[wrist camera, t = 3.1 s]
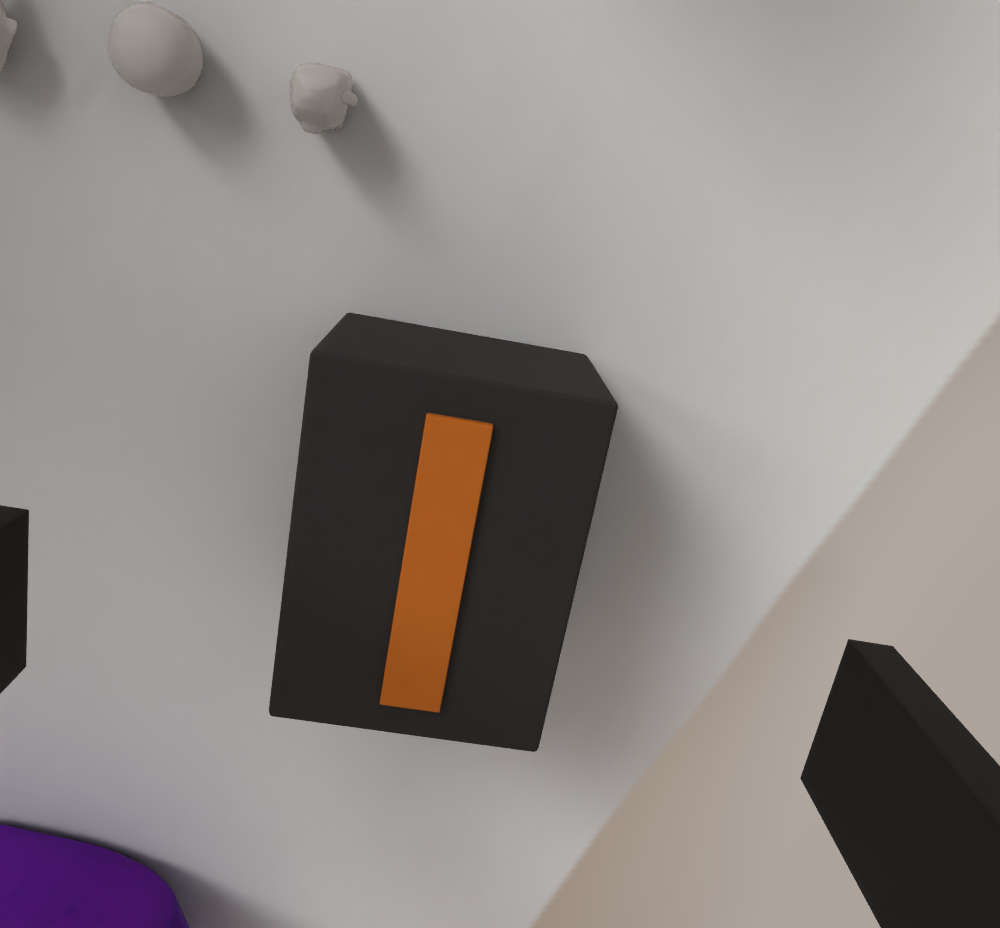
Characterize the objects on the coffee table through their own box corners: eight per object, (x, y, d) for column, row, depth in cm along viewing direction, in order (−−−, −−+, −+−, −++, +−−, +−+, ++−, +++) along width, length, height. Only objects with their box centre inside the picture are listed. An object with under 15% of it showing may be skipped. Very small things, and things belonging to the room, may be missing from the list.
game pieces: (-44, 69, 17) (-106, 55, 15) (-40, -47, 17) (-104, -74, 15) (348, 169, 18) (334, 169, 16) (367, 64, 17) (355, 50, 16)
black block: (346, 311, 19) (308, 351, 15) (587, 354, 20) (621, 406, 15) (308, 609, 21) (265, 721, 17) (525, 641, 22) (538, 758, 17)
